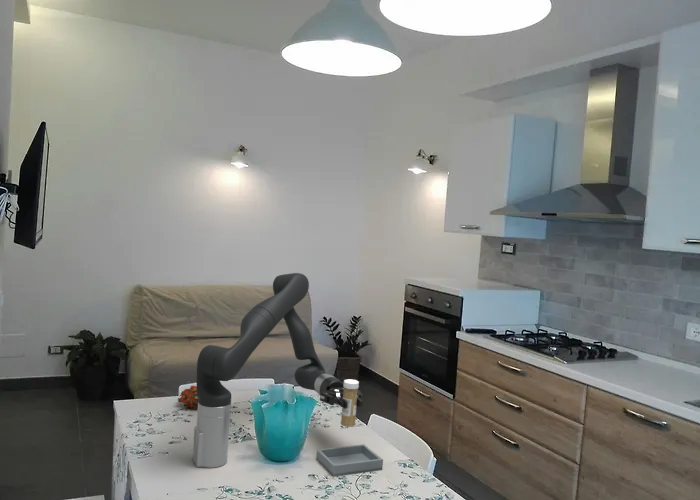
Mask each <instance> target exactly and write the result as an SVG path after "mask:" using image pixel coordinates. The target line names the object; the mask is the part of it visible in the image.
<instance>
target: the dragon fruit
mask: <svg viewBox="0 0 700 500" xmlns="http://www.w3.org/2000/svg"><path fill="white" fill-rule="evenodd" d="M196 387H197V385H190V386H189V388H184V390H182V391H181V393H180V395H179V397H177V402H178V403H183V406H184V408H185V409H189V408H191V409H193V410H198V395H197V390H196Z"/></svg>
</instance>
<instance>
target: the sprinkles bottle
mask: <svg viewBox="0 0 700 500" xmlns="http://www.w3.org/2000/svg"><path fill="white" fill-rule="evenodd" d="M343 383H344V385H343V387H344V392H343V399H345V400H346V401H347V402H348V406H347V409H344V408H343V407H341V418H340V424H341V426H343V427H345V428H353V427H355V426H356V418H357V417H356V415H357V407H358V406H357V391H358V390H359V387H360V385H359V384H360V381H358V380H357V379H348V378H347V379H344V380H343Z"/></svg>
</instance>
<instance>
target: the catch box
mask: <svg viewBox="0 0 700 500" xmlns="http://www.w3.org/2000/svg"><path fill="white" fill-rule="evenodd" d="M315 457H316V458H315V459H316V461H317V462H318V463H319V464H320V466H322V467H323V468H324V469H325V471H327V472H328V473H329V474H330V475H331V477H340V476H346V475H353V474H354V473H355V474H360V473H366V472H367V473H368V472H374V471H375V472H376V471H381V470H382V471H383V468H384V467H383V466H384V459H383V458H382V457H381V456H379V455H378V454H377V453H376V452H374V450H372V449H371V448H369V447H368V446H367V445H366V444H355V445H347V446H345V445H344V446H339V447H338V446H337V447H330V448H329V447H328V448H320V449H317V450H316V456H315Z"/></svg>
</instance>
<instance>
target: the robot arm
mask: <svg viewBox="0 0 700 500" xmlns="http://www.w3.org/2000/svg"><path fill="white" fill-rule="evenodd" d="M309 289H310V283H309V279H308V277H307V276H306V275H305V274H303V273H299V272H291V273H284V274H279V275H277V276H275V278H274V279H273V282H272V290H273V294H274V295H272V296H270V297H268V298H267V299H263V301H260V302H259V303H257V304H256V305H254V306H253V307H252V308H251V309H250V310H249V311H248V312H247V313H246V314H245V315H244V317H243V318H242V319H241V323H240V327H239V328H240V329H239V332H240V335H239V336H240V338H239V339H238V340H237V341H236V342H235V343H234V344H233V345H232V346H230V347H223V346H218V345H213V344H208V345H206V346H204V347H203V348H202V349H201V350H200V352H199V354H198V357H197V362H196V386H197V387H196V390H197V395H198V408H197V415H196V426H194V429H193V447H192V460H193V463H194V464H195V467H197V468H199V467H200V468H213V469H214V468H217V467H218V468H219V467H222V466H224V465H226V463H227V462H228V454H229V453H228V452H229V451H228V450H229V440H230V439H229V436H230V426H231V425H230V423H231V422H230V421H231V408H232V393H231V391H230V390H228V389H227V388H226V387H225V386H224V385H223V384H222V383H221V382H229V381H231V380H233V379H234V378H235V377H236V375H238V373H239V372H240V371H241V370H242V368H243V366H244V365H245V363H246V362H247V361H248V359H249V358H250V356H251V355H252V354H253V352H255V350H256V349H257V347H259V345H260V344H262V341H264V339H266V337H268V336H269V335H270V333H271V332H272V331H273V330H274V328H275V327H276V326H277V325H278V324H279V323H280V321H281V320H284V322H285V324H286V327H287V331H288V333H289V336H290V339H291V344H292V348H293V351H294V357H295V359H296V360H299V361H304V360H305V361H306V360H309V361H310V363H308V364H305V365H302V366H299V367H297V368H296V370H295V371H294V380H295V382H296V384H297V385H298V387H299V386H300V388H302V389H305V390H310V391H314V392H316V393H317V394H318V395H319V401H320V402H323V403H325V404H328V405H329V406H334V405H336V406H340V407H341V408H342V407H343V408H344V409H347V406H348V402H347V401H346V400H345V399H343V392H344V387H343V385H344V381H342V380H340V379H338V378H337V377H336V376H334V375H331V374H330V373H328V372H327V371H326V370H325V368H324V365H323V363H322V362H321V360H320V359H319V357H318V354H317V352H316V349H315V346H314V341H313V337H312V334H311V330H310V328H309V327H308V326H307V324H306V323H305V321H304V320H303V319H301V317H300V315H299V314H298V313H297V311H296V309H295V306H297V304H299V303H300V302H301V301H303V300H304V299H305V298H306V296H307V294H308V292H309ZM363 403H364V401H363V393H362V392H361V390H359V389H358V391H357V406H356V407H358V408H362V407H363V405H364V404H363Z"/></svg>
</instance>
